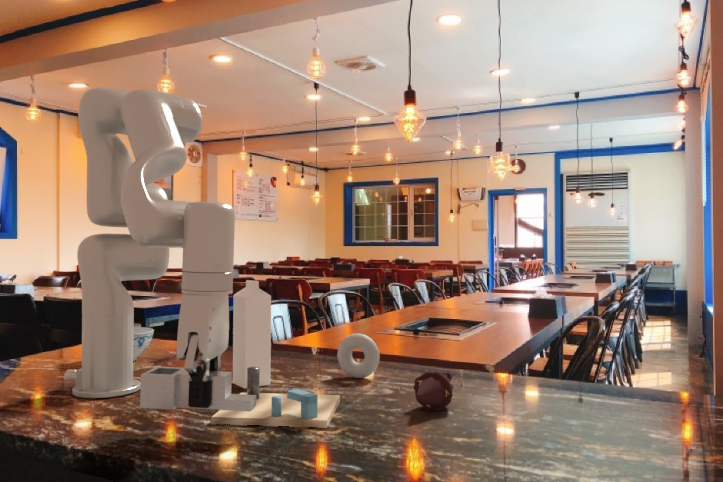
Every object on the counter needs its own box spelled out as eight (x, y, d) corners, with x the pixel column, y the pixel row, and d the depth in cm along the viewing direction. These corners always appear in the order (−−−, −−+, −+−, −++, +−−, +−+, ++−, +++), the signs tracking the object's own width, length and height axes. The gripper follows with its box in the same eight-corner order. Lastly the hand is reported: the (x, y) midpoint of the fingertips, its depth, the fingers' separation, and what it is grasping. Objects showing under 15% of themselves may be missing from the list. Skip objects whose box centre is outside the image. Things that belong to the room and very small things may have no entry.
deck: (211, 424, 92) (211, 416, 92) (241, 398, 108) (241, 392, 108) (326, 428, 90) (326, 420, 90) (339, 401, 106) (339, 395, 106)
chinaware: (139, 367, 137) (139, 335, 137) (78, 366, 137) (78, 335, 137) (162, 355, 152) (162, 327, 152) (106, 355, 152) (107, 326, 152)
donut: (334, 377, 126) (334, 333, 126) (340, 374, 129) (341, 331, 130) (376, 381, 122) (376, 335, 123) (381, 378, 126) (382, 333, 126)
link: (140, 407, 85) (140, 374, 84) (155, 397, 90) (156, 366, 90) (248, 413, 83) (249, 380, 83) (258, 403, 88) (258, 371, 88)
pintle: (245, 399, 103) (245, 368, 103) (249, 396, 105) (249, 366, 105) (257, 400, 102) (257, 369, 103) (260, 397, 105) (260, 366, 105)
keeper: (269, 422, 93) (269, 393, 93) (294, 416, 97) (294, 388, 97) (292, 431, 89) (292, 400, 89) (317, 424, 92) (317, 394, 92)
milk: (244, 389, 116) (244, 281, 116) (232, 383, 121) (232, 280, 121) (271, 384, 120) (271, 280, 120) (258, 379, 124) (258, 279, 125)
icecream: (443, 384, 93) (470, 375, 106) (404, 369, 96) (434, 361, 110) (432, 425, 93) (460, 410, 106) (393, 407, 97) (425, 396, 110)
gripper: (203, 278, 95) (200, 387, 95) (159, 287, 78) (155, 419, 78) (247, 280, 94) (243, 390, 94) (212, 289, 78) (208, 422, 78)
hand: (204, 402), depth 86 cm, fingers closed on link, 3 cm apart
